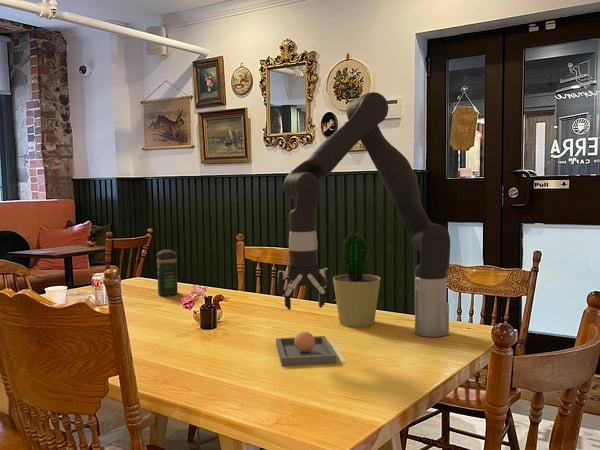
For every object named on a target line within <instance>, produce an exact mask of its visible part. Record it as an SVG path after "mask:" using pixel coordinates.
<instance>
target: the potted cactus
mask: <svg viewBox="0 0 600 450" xmlns="http://www.w3.org/2000/svg"><path fill="white" fill-rule="evenodd" d="M365 237H366V236H364V237H363V235H362V234H361V233H360V232H359V233H358V232H356V233H355V232H352V231H351V232H350V234H348V235H347V237H346V239H344V240H343V242H344V243H343V245H342V246H343V253H341V255H342V262H344V263H345V264H344V267H345V272H346V274H341V275H340V274H339V275H337V276H334V277H332V280H333V288H334V294H335V301H336V307H337V315H338V321H339V324H340V325H341V326H344V327H347V328H366V327H371V326H373V325H374V324H375V319H376V313H377V307H378V306H377V305H378V298H379V291H380V283H381V277H380V276H378V275H372V274H366V273H364V272H365V271H366V268H368V266H367V265H366V264H367V260H368V259H369V258H370V256H369V248H368V247H369V245H368V244H369V243H368V241H366V238H365Z"/></svg>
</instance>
